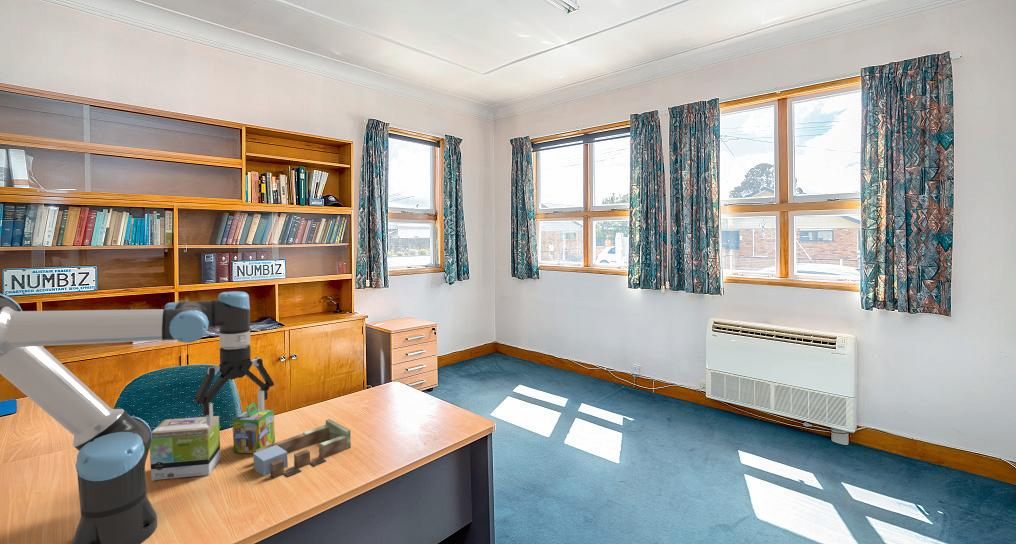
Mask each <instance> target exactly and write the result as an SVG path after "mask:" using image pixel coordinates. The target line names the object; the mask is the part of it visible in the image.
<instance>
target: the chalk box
mask: <svg viewBox="0 0 1016 544" xmlns="http://www.w3.org/2000/svg"><path fill="white" fill-rule="evenodd" d="M252 408H253V409H252ZM245 409H246V410H245V411H243V412H242V413H240V414H238V415H236V416H235V417H233V418H232V419H231V421H232V438H233V441H232V442H233V453H234V454H253V453H254V450H256V449H259V448H262V447H265V446H268V445H271V444H274V443H276V439H275V438H276V436H275V434H276V433H275V411H274V409H265V412H260V411H259V410H258V406H257V404H256V402H252V403H250V404H249V405H247V406H246V407H245Z"/></svg>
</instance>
